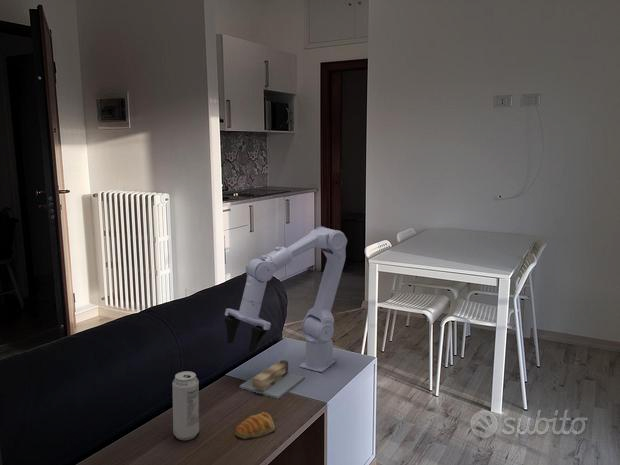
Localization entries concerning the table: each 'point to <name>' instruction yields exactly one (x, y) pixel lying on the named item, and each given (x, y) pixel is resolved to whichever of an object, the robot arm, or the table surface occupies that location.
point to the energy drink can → (185, 405)
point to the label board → (275, 385)
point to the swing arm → (270, 374)
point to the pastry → (255, 426)
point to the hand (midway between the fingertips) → (240, 346)
